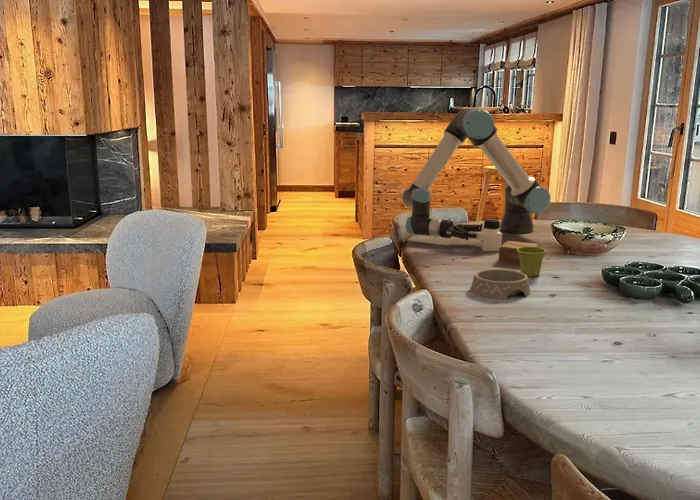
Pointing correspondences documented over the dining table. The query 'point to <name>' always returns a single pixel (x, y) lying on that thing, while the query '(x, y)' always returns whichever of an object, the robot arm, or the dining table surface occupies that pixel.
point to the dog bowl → (499, 283)
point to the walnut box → (512, 252)
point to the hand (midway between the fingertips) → (491, 233)
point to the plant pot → (530, 260)
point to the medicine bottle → (491, 235)
